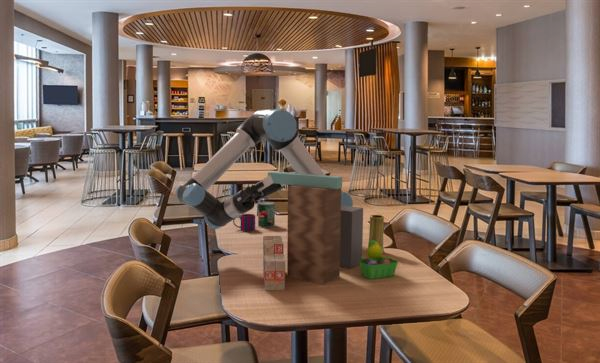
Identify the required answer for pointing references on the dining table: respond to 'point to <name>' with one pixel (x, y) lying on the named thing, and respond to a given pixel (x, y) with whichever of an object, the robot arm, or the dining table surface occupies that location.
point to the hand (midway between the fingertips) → (283, 177)
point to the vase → (376, 229)
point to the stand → (313, 233)
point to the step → (351, 236)
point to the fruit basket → (377, 262)
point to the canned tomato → (266, 214)
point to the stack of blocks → (273, 263)
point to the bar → (306, 180)
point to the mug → (247, 222)
